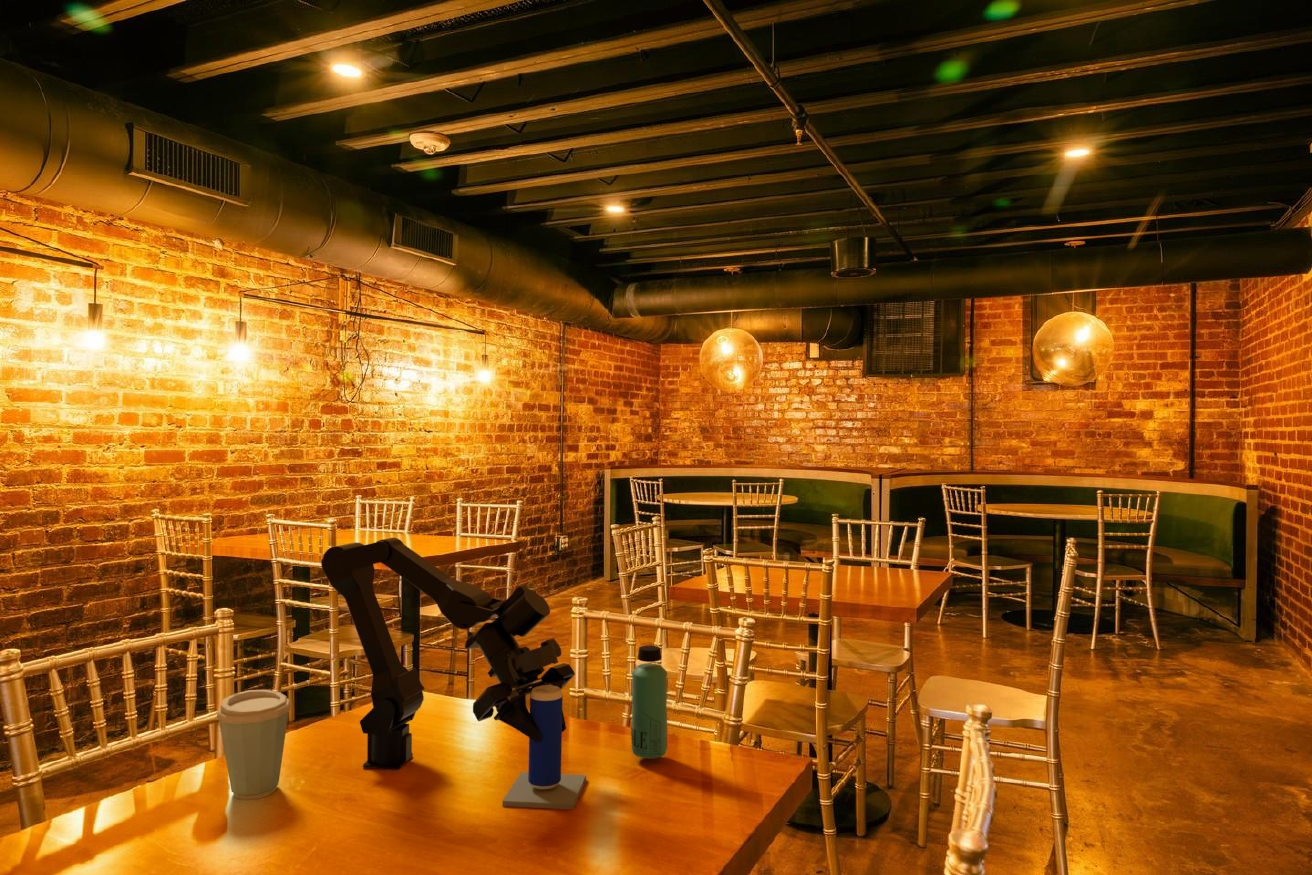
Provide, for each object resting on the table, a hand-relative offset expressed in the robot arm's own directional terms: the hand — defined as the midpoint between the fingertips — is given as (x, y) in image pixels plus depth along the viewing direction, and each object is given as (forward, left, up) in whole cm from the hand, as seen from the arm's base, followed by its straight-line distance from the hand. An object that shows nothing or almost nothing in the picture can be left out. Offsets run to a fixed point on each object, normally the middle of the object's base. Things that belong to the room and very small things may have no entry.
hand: (552, 735), depth 129 cm
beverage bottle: (+14, +16, -10) cm, 23 cm away
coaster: (-1, +1, -9) cm, 9 cm away
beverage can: (-1, +1, -8) cm, 8 cm away
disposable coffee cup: (-47, -4, -10) cm, 48 cm away
